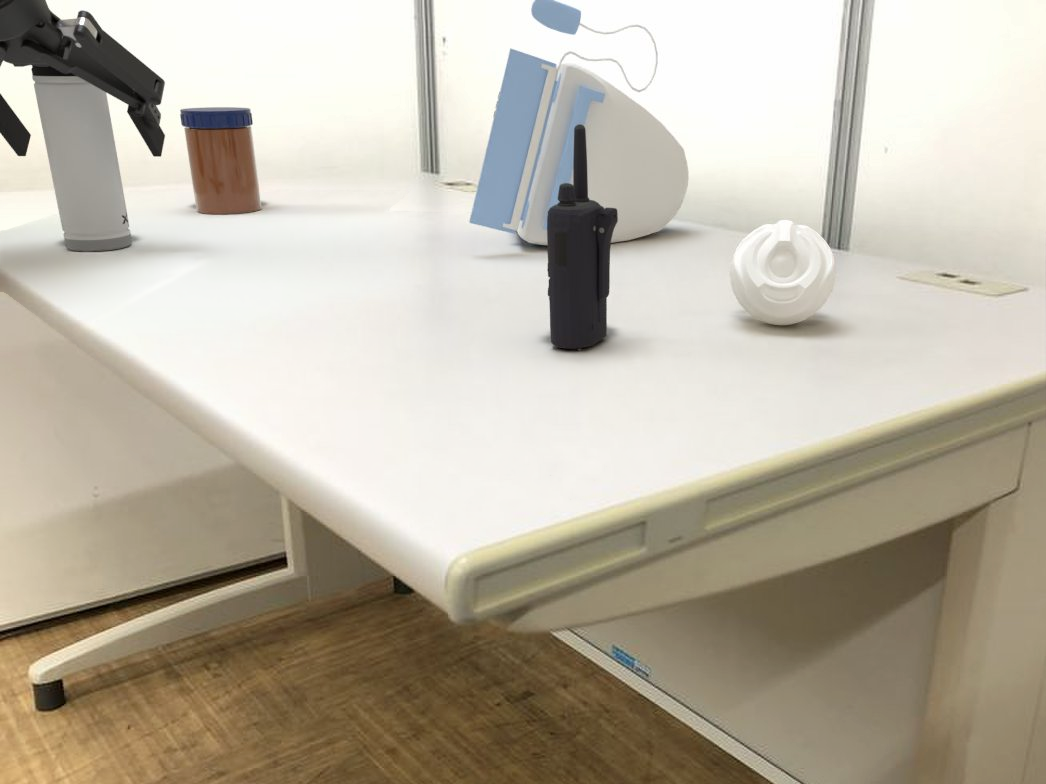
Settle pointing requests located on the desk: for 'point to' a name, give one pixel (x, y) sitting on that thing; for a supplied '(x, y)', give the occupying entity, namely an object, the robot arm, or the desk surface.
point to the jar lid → (216, 117)
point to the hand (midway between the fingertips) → (92, 146)
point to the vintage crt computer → (548, 145)
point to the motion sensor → (782, 273)
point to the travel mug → (82, 160)
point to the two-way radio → (578, 258)
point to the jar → (223, 170)
